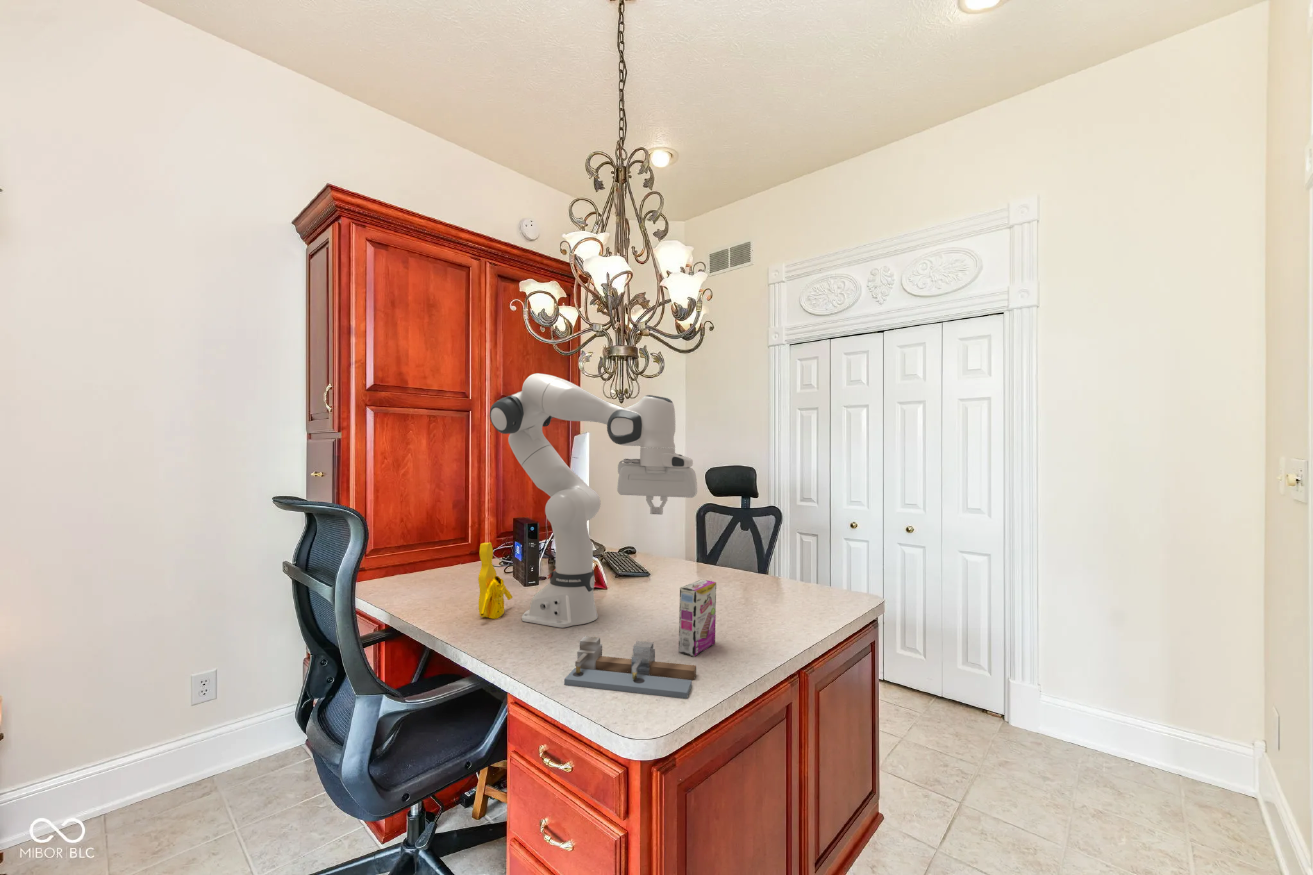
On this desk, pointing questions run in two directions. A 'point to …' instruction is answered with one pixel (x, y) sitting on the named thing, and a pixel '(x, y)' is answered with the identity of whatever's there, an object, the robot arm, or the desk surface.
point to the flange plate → (629, 683)
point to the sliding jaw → (642, 658)
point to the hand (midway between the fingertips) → (656, 514)
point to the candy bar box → (697, 617)
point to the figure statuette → (490, 586)
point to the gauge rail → (625, 662)
